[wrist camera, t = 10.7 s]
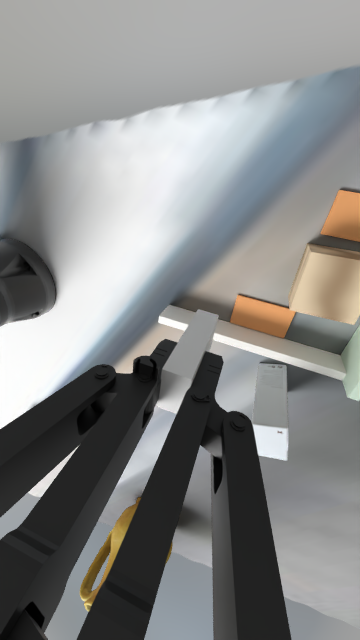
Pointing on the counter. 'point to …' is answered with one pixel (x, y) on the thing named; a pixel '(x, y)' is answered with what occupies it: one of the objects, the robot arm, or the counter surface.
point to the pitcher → (110, 545)
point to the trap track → (282, 349)
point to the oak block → (327, 284)
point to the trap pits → (344, 222)
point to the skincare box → (271, 411)
